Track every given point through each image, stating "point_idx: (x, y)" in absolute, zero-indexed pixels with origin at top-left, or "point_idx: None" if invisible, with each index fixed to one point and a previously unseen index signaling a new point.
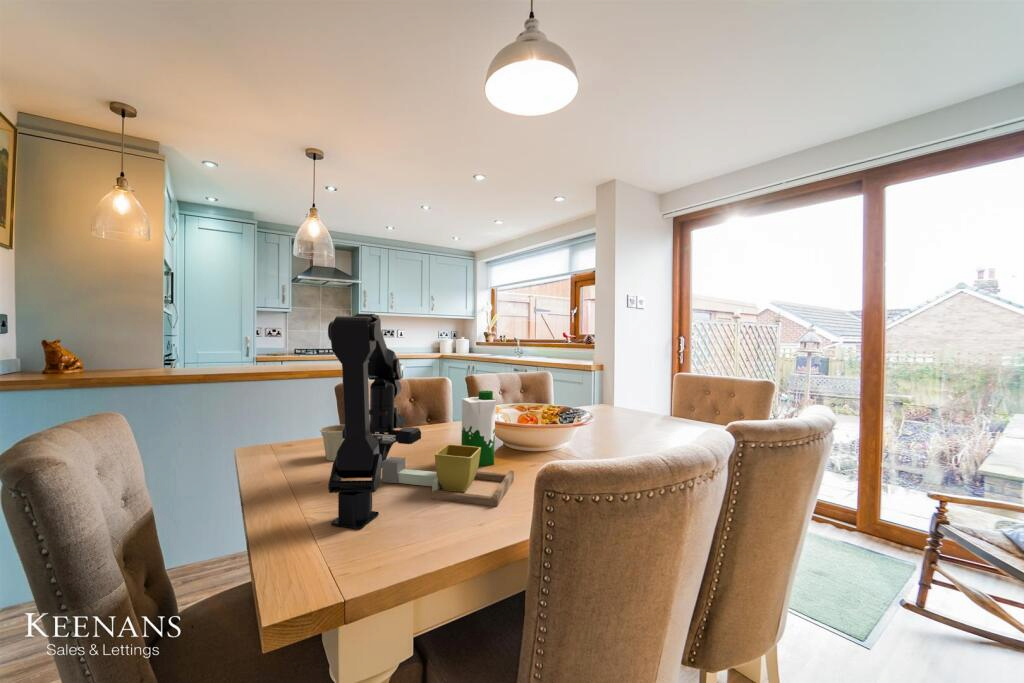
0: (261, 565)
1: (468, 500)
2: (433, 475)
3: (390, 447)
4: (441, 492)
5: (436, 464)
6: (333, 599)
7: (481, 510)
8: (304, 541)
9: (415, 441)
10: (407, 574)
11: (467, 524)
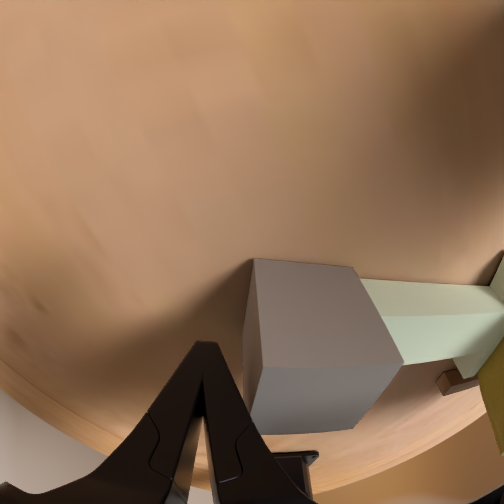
0: None
1: None
2: (480, 345)
3: (283, 478)
4: (462, 388)
5: (492, 426)
6: (316, 493)
7: None
8: None
9: (490, 491)
10: (373, 473)
11: (459, 414)
